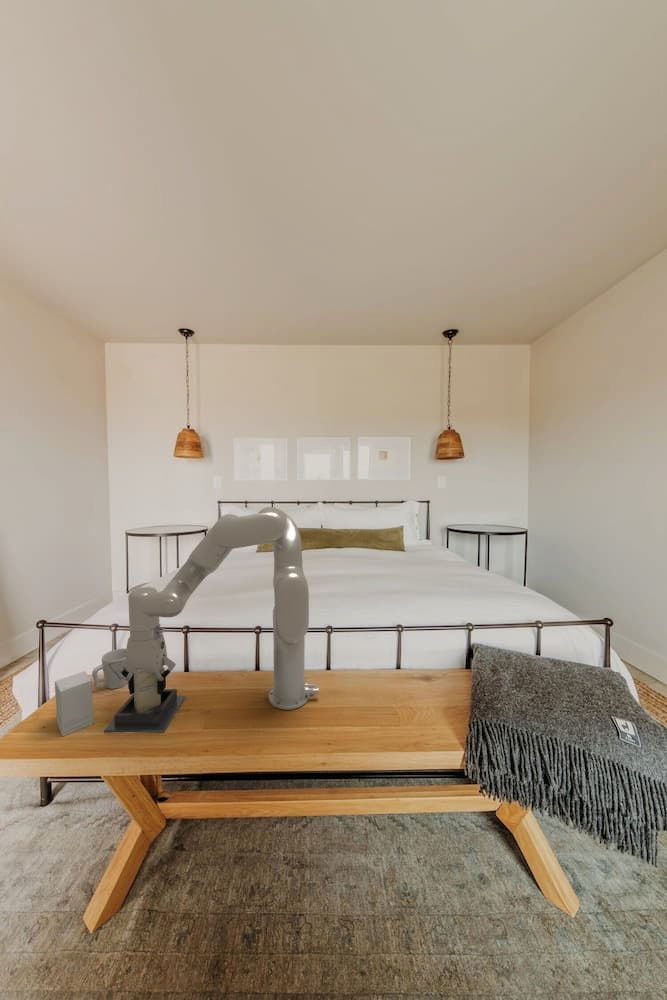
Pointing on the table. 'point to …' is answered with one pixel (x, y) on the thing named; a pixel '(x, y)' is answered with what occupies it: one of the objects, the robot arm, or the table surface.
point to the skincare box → (145, 690)
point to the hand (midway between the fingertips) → (147, 691)
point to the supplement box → (74, 703)
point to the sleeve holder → (147, 715)
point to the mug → (111, 669)
